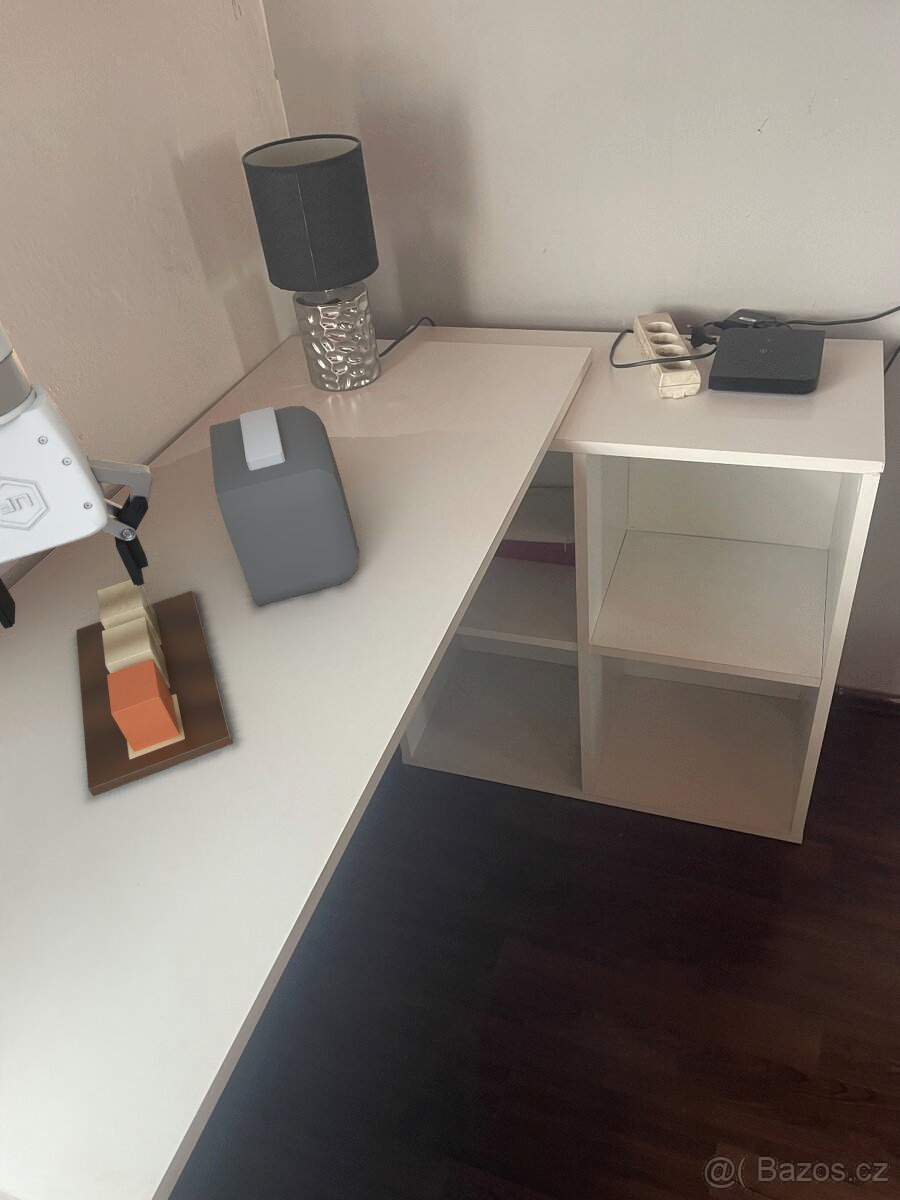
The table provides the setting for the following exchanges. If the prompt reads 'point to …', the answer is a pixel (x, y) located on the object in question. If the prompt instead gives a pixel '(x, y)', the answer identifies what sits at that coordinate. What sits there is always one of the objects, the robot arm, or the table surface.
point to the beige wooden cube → (126, 606)
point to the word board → (188, 687)
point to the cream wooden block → (132, 647)
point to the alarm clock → (283, 502)
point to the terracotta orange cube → (142, 705)
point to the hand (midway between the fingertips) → (75, 595)
